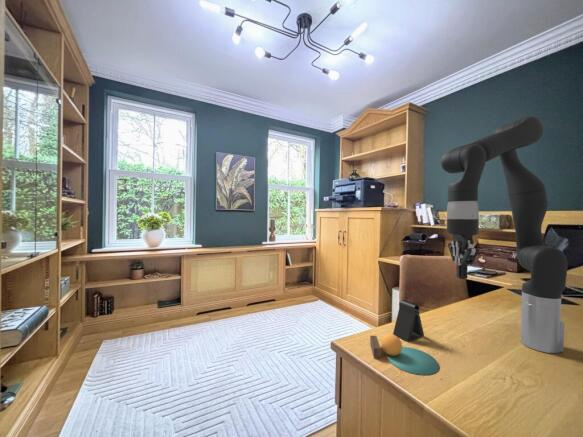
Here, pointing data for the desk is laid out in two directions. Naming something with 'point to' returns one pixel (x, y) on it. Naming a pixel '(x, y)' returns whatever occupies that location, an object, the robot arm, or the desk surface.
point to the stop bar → (375, 347)
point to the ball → (391, 344)
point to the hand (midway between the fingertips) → (461, 278)
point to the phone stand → (408, 322)
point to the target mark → (414, 361)
